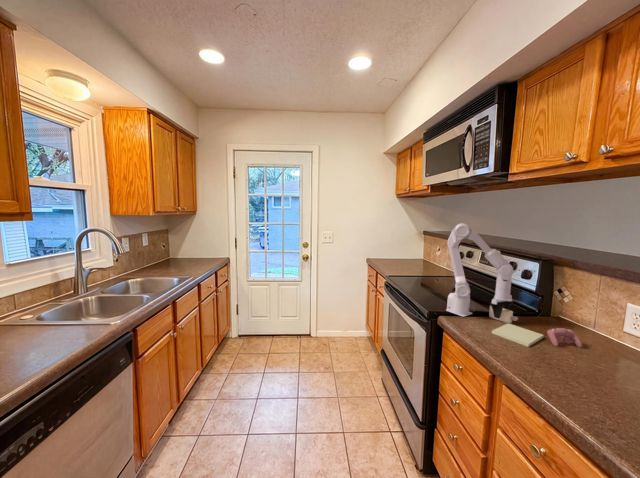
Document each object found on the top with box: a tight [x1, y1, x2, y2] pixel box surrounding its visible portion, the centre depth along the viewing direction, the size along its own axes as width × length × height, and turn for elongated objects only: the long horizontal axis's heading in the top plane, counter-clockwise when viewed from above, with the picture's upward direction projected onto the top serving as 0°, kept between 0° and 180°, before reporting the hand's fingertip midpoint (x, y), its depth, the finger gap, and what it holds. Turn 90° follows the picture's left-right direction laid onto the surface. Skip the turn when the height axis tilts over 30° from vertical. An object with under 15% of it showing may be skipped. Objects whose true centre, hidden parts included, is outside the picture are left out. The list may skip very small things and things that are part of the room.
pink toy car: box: [546, 327, 583, 349], centre depth 107 cm, size 10×5×7 cm, turn 85°
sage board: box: [491, 323, 545, 348], centre depth 114 cm, size 13×14×1 cm
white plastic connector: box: [488, 305, 519, 324], centre depth 129 cm, size 12×4×5 cm, turn 33°
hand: (500, 316), depth 130 cm, fingers open, 6 cm apart
